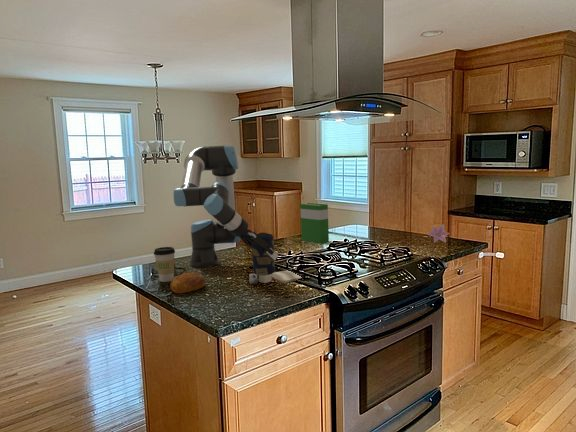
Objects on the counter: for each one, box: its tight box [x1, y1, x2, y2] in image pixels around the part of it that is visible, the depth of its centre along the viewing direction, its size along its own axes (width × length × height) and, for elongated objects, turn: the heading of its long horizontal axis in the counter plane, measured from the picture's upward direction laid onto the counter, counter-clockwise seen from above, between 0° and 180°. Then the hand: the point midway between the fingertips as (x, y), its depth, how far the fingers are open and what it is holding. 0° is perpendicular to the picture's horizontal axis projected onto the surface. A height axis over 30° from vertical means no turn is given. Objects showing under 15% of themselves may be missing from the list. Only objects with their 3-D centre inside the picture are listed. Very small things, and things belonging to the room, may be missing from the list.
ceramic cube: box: [258, 274, 273, 284], centre depth 202 cm, size 4×4×4 cm
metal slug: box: [248, 272, 259, 285], centre depth 200 cm, size 4×4×4 cm
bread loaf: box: [169, 272, 206, 294], centre depth 196 cm, size 14×16×8 cm
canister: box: [251, 231, 276, 276], centre depth 191 cm, size 10×10×18 cm
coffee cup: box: [153, 246, 176, 283], centre depth 210 cm, size 10×10×15 cm
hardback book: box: [299, 202, 330, 245], centre depth 289 cm, size 18×7×24 cm, turn 41°
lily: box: [426, 223, 450, 243], centre depth 275 cm, size 12×12×10 cm
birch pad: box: [271, 269, 302, 284], centre depth 208 cm, size 15×15×1 cm
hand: (269, 255), depth 193 cm, fingers closed on canister, 9 cm apart
